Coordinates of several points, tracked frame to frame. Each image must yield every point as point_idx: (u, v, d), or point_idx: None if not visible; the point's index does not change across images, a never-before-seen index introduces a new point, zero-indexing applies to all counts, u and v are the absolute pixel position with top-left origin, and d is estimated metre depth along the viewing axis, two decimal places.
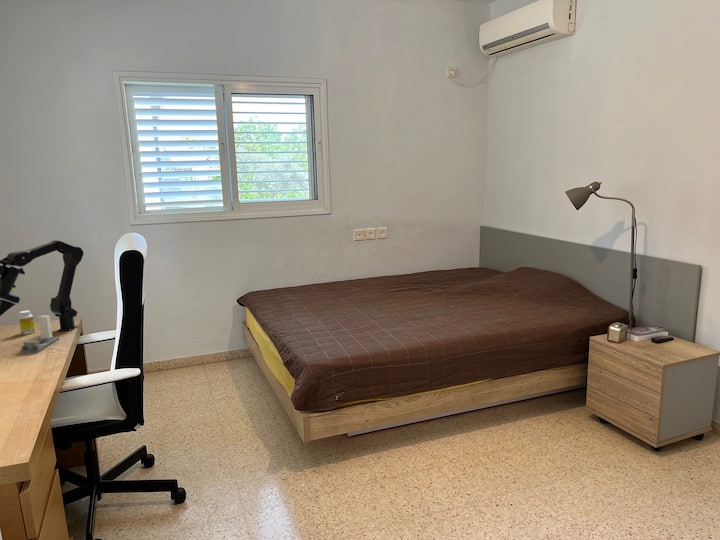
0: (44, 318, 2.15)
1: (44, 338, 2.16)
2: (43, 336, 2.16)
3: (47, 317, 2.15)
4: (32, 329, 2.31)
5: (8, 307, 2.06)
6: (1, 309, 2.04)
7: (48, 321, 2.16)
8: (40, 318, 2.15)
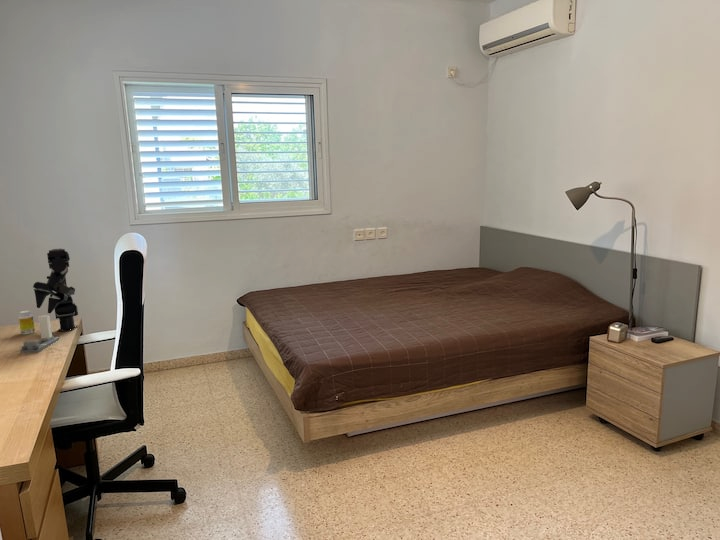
0: (44, 318, 2.15)
1: (44, 338, 2.16)
2: (43, 336, 2.16)
3: (47, 317, 2.15)
4: (32, 329, 2.31)
5: None
6: None
7: (48, 321, 2.16)
8: (40, 318, 2.15)
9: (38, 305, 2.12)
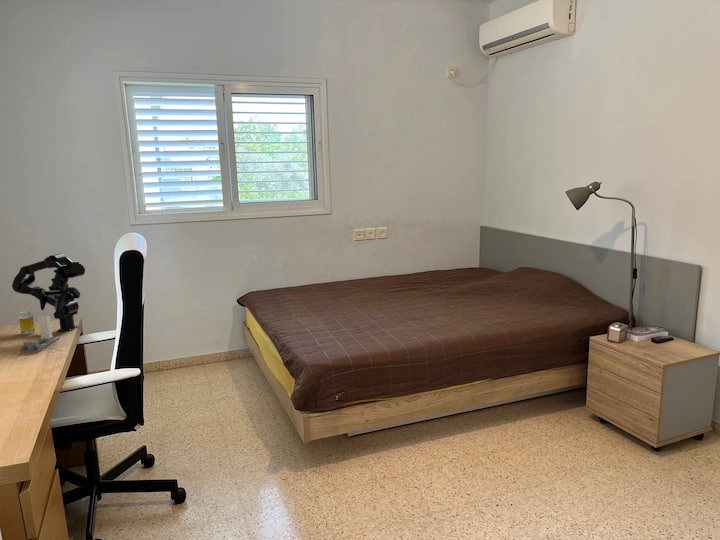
0: (44, 318, 2.15)
1: (44, 338, 2.16)
2: (43, 336, 2.16)
3: (47, 317, 2.15)
4: (32, 329, 2.31)
5: None
6: None
7: (48, 321, 2.16)
8: (40, 318, 2.15)
9: (60, 307, 2.21)
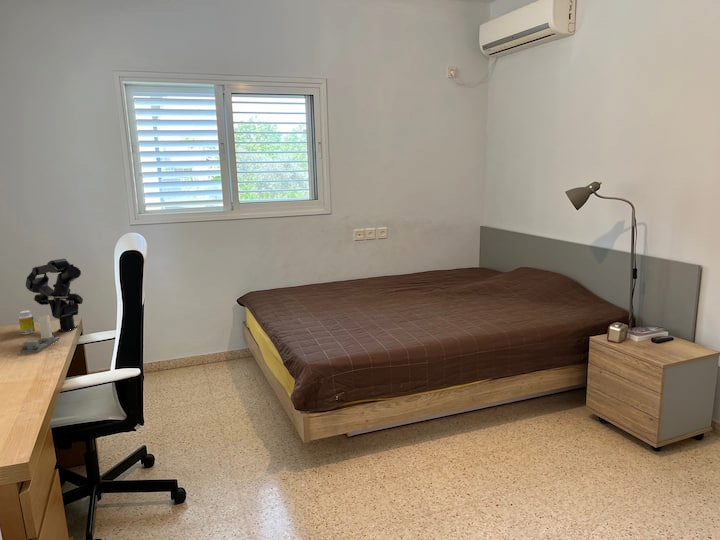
0: (44, 318, 2.15)
1: (44, 338, 2.16)
2: (43, 336, 2.16)
3: (47, 317, 2.15)
4: (32, 329, 2.31)
5: None
6: None
7: (48, 321, 2.16)
8: (40, 318, 2.15)
9: (56, 314, 2.22)
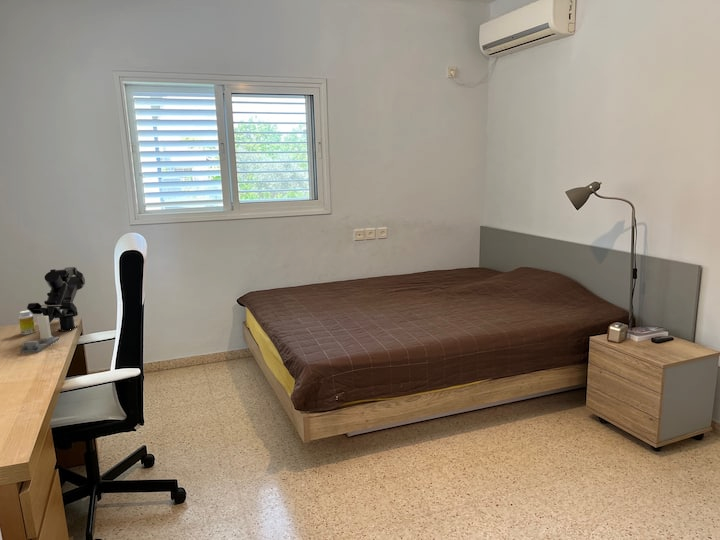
0: (43, 318, 2.14)
1: (43, 338, 2.15)
2: (42, 336, 2.15)
3: (46, 317, 2.15)
4: (32, 329, 2.31)
5: None
6: None
7: (47, 321, 2.15)
8: (39, 318, 2.14)
9: None
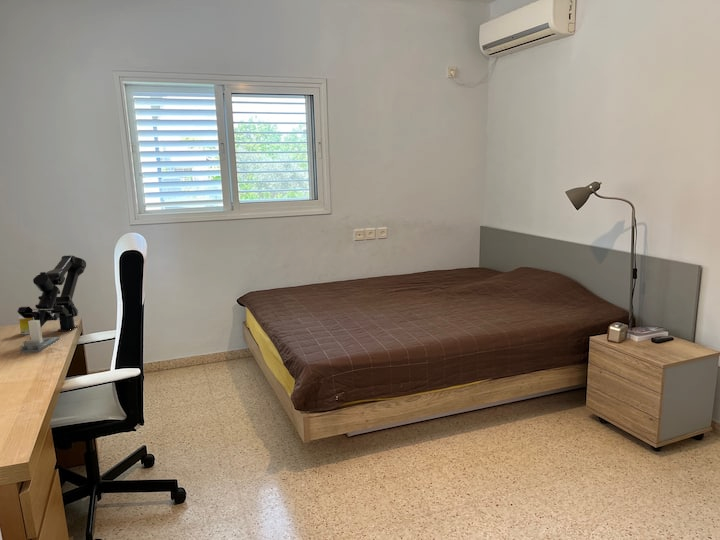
0: (34, 323, 2.08)
1: None
2: None
3: (37, 322, 2.08)
4: None
5: None
6: None
7: (38, 326, 2.09)
8: (30, 323, 2.08)
9: None
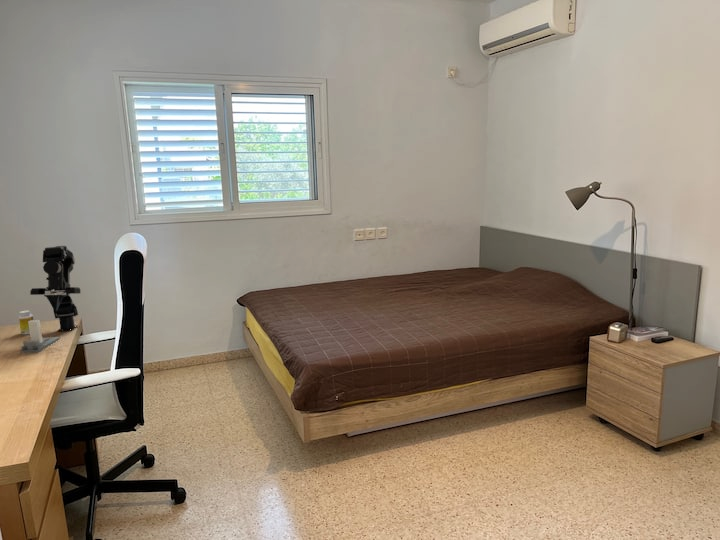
0: (34, 323, 2.08)
1: None
2: None
3: (37, 322, 2.08)
4: None
5: None
6: None
7: (38, 326, 2.09)
8: (30, 323, 2.08)
9: (57, 308, 2.21)
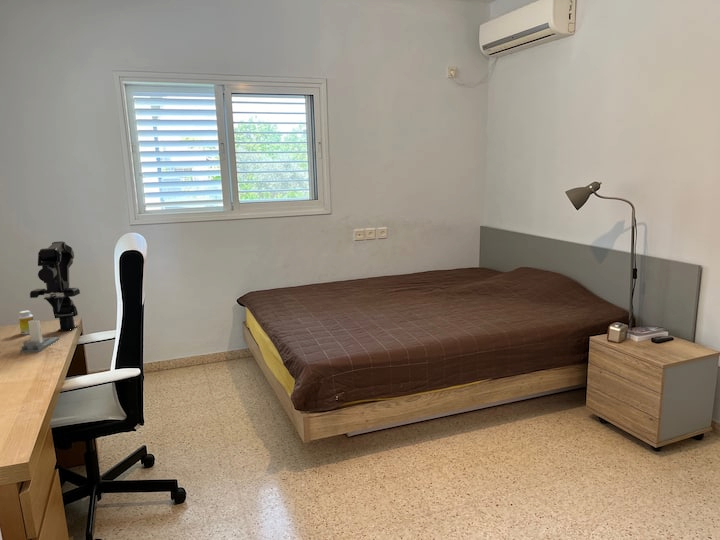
0: (34, 323, 2.08)
1: None
2: None
3: (37, 322, 2.08)
4: None
5: None
6: None
7: (38, 326, 2.09)
8: (30, 323, 2.08)
9: (58, 309, 2.21)
